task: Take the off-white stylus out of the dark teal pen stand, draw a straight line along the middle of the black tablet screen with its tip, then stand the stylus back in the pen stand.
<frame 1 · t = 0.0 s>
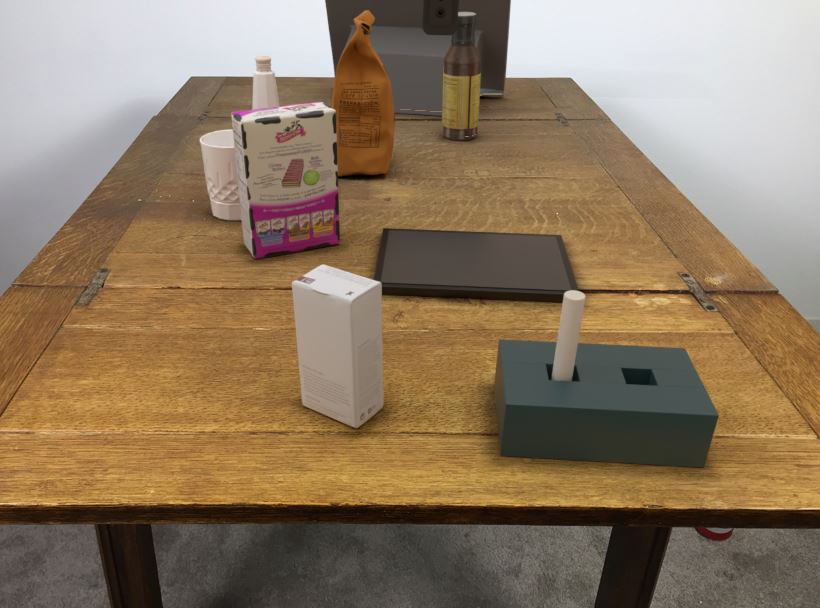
hand: (440, 23, 54), 30 cm above the table, tool pointing down, fingers open, 8 cm apart
cosmetic box: (340, 409, 67), on the table
pen stand: (591, 424, 65), on the table
stylus: (554, 422, 65), resting in pen stand
coffee package: (362, 168, 121), on the table
sauce bottle: (458, 137, 136), on the table
salt shaker: (266, 120, 144), on the table
candy bar box: (291, 246, 96), on the table
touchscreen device: (411, 102, 156), on the table
white cup: (237, 213, 105), on the table
tablet: (472, 266, 91), on the table
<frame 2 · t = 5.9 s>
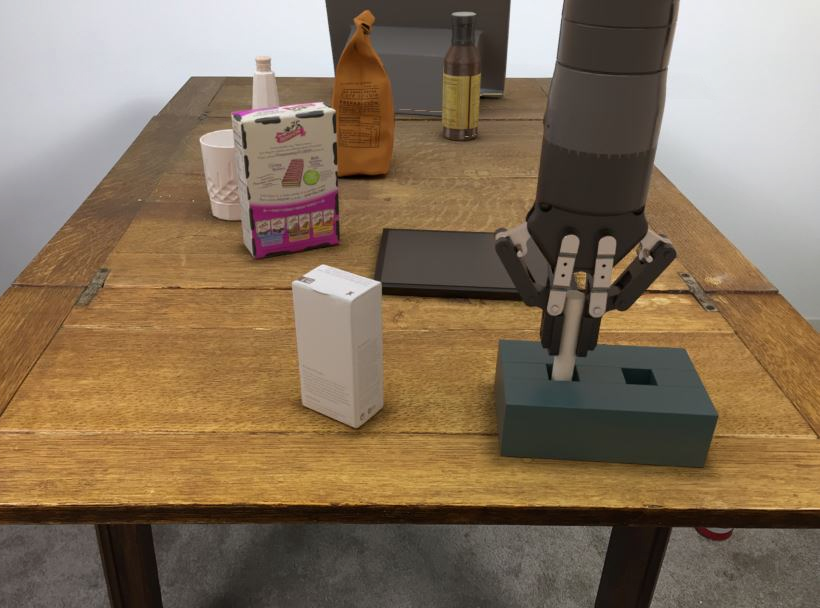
hand: (566, 350, 62), 7 cm above the table, tool pointing down, fingers closed on stylus, 1 cm apart
stylus: (554, 422, 65), resting in pen stand, touching gripper
everything else where it was.
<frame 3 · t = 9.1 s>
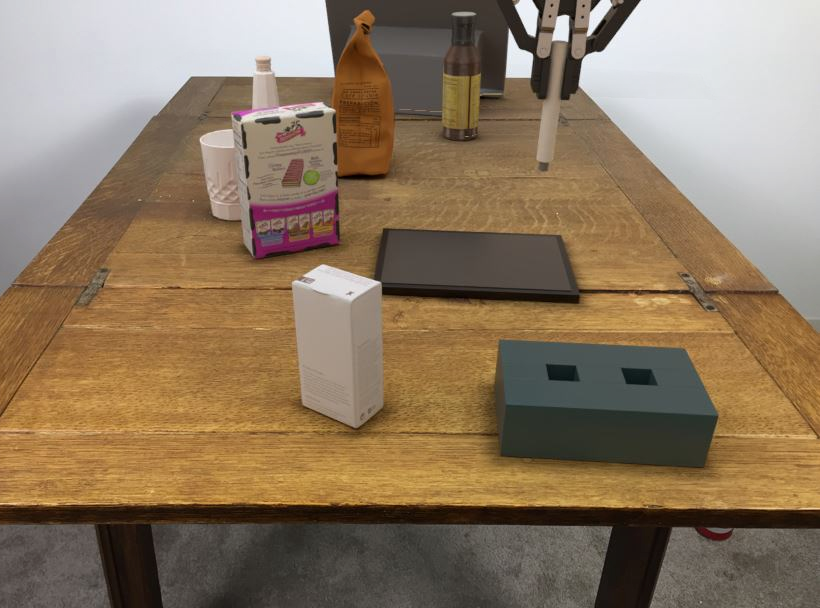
hand: (552, 97, 74), 21 cm above the table, tool pointing down, fingers closed on stylus, 1 cm apart
stylus: (543, 170, 77), point 14 cm above the table, touching gripper
everything else where it was.
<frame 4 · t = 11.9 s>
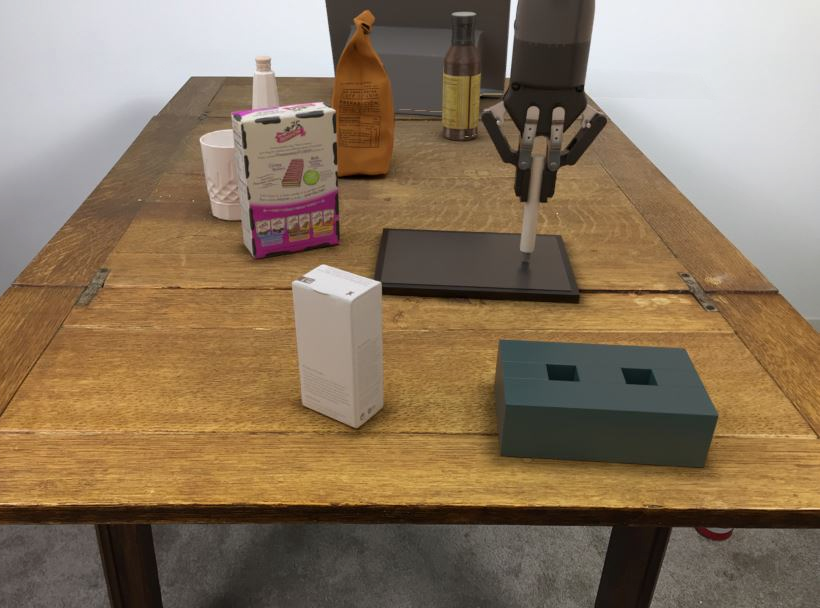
hand: (533, 199, 86), 8 cm above the table, tool pointing down, fingers closed on stylus, 1 cm apart
stylus: (525, 258, 90), point 1 cm above the table, touching gripper
everything else where it was.
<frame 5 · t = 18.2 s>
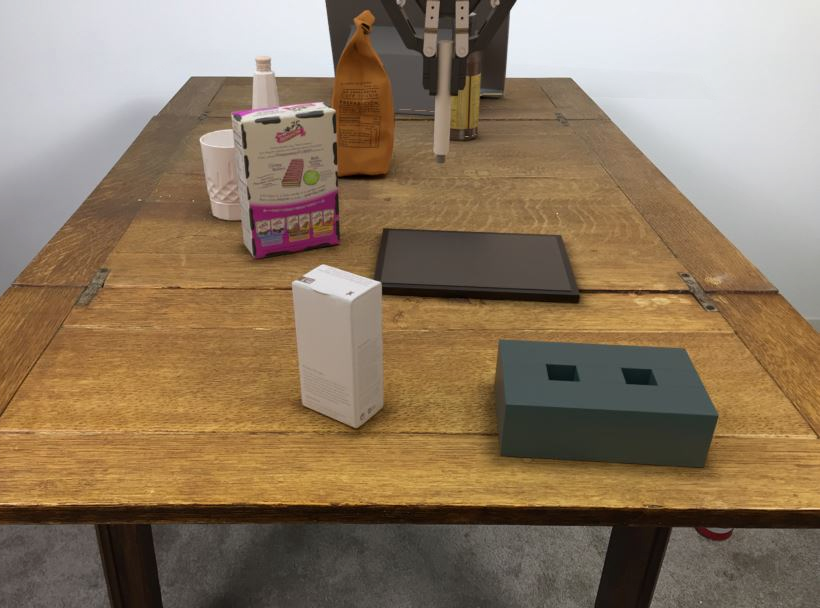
hand: (443, 93, 78), 20 cm above the table, tool pointing down, fingers closed on stylus, 1 cm apart
stylus: (440, 162, 82), point 13 cm above the table, touching gripper
everything else where it was.
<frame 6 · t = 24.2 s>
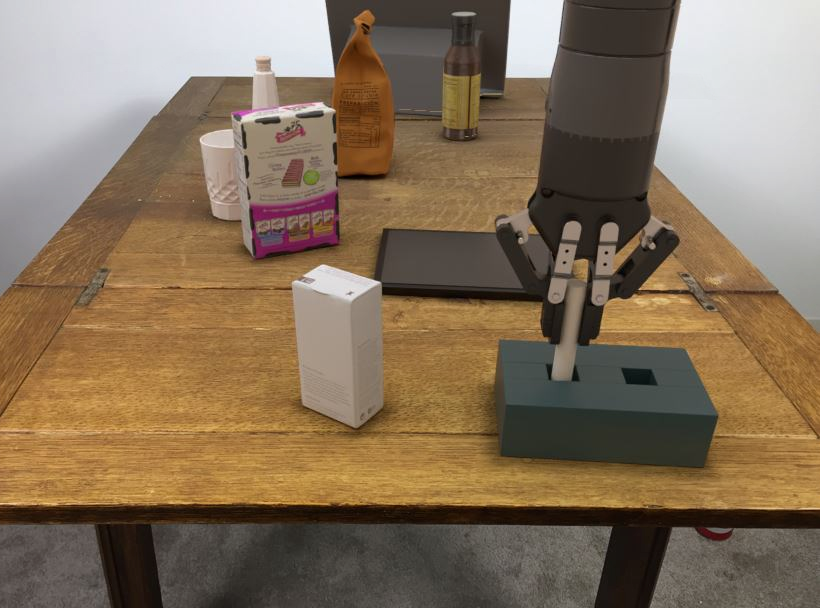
hand: (567, 339, 61), 8 cm above the table, tool pointing down, fingers closed on stylus, 1 cm apart
stylus: (555, 413, 65), point 1 cm above the table, touching gripper
everything else where it was.
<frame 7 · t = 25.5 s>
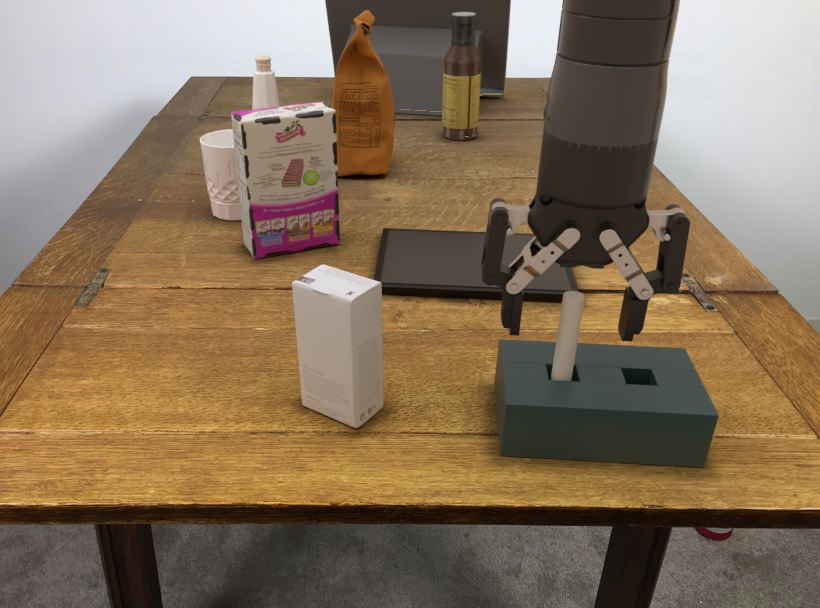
hand: (568, 333, 61), 9 cm above the table, tool pointing down, fingers open, 8 cm apart
stylus: (554, 423, 65), resting in pen stand
everything else where it was.
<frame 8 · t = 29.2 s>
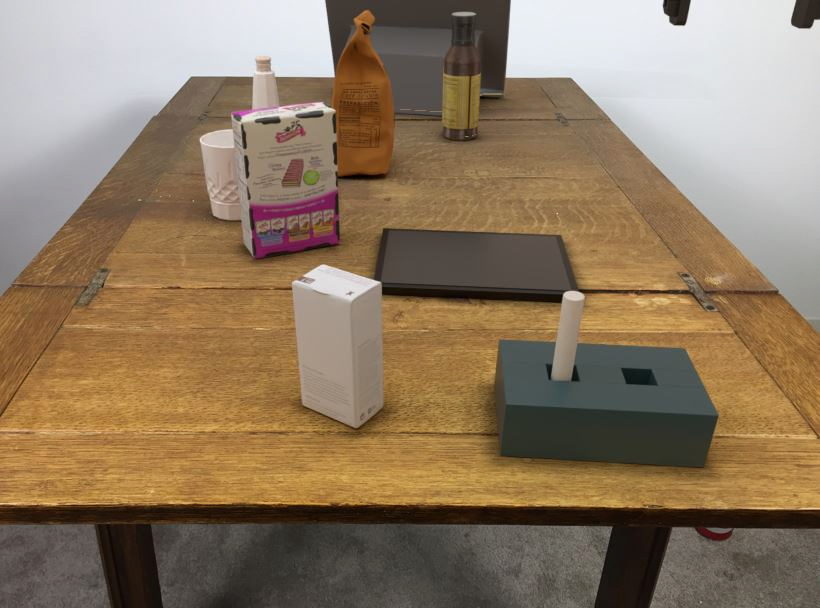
hand: (738, 25, 56), 30 cm above the table, tool pointing down, fingers open, 8 cm apart
nothing on the table moved.
at the end: stylus 0.1 cm from the target spot in the pen stand, point 0.0 cm above the pen stand's base; stylus tilted 0°; stylus touching table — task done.
